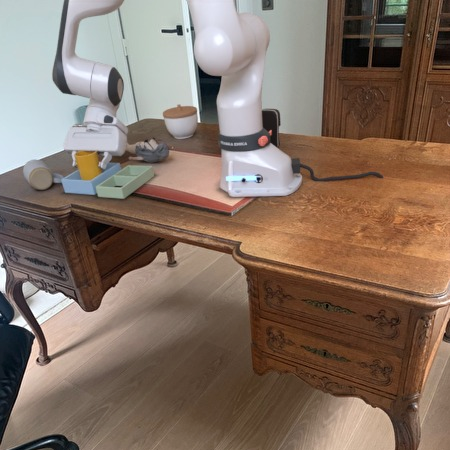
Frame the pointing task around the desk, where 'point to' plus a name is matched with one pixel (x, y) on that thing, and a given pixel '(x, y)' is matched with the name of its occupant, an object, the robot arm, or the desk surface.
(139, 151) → the anime figure
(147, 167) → the divided storage tray
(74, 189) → the open storage box
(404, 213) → the desk surface
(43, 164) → the ceramic mug
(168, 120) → the lidded bowl
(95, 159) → the tumbler
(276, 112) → the battery charger
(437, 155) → the desk surface
